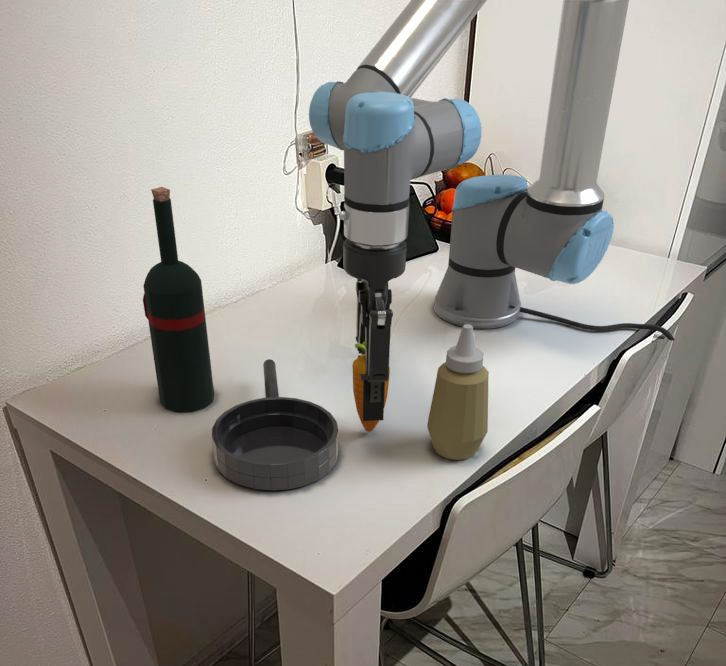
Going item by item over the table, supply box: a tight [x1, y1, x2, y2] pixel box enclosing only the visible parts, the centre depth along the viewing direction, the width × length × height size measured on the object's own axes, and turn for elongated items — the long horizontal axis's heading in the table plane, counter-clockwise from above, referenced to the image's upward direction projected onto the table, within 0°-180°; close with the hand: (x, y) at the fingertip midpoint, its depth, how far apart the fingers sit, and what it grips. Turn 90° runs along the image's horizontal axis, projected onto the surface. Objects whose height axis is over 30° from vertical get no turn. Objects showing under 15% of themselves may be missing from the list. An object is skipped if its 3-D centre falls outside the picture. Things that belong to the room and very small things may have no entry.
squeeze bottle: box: [426, 324, 490, 461], centre depth 103 cm, size 8×8×18 cm
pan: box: [211, 396, 339, 491], centre depth 105 cm, size 16×16×4 cm
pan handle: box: [262, 358, 280, 398], centre depth 115 cm, size 2×12×2 cm, turn 8°
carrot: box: [352, 342, 391, 433], centre depth 106 cm, size 5×5×15 cm
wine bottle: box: [142, 186, 215, 413], centre depth 109 cm, size 8×10×30 cm
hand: (370, 408), depth 108 cm, fingers closed on carrot, 5 cm apart
